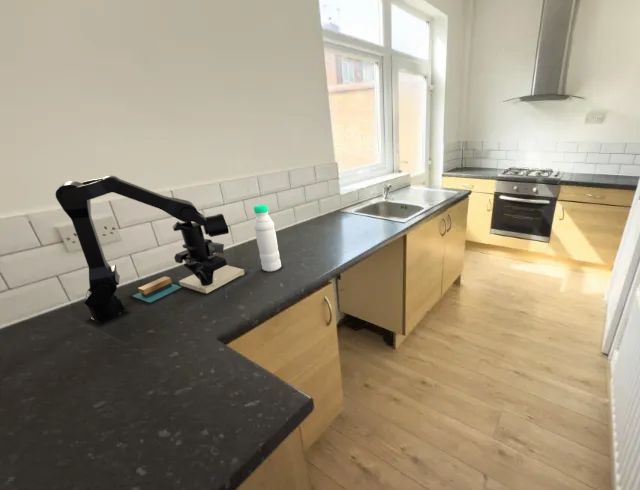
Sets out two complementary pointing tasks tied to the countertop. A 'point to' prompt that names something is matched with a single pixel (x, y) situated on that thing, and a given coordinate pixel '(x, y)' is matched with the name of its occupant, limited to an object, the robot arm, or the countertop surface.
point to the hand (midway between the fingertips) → (206, 282)
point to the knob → (203, 280)
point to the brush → (155, 287)
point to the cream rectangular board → (219, 279)
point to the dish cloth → (158, 295)
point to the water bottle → (266, 239)
